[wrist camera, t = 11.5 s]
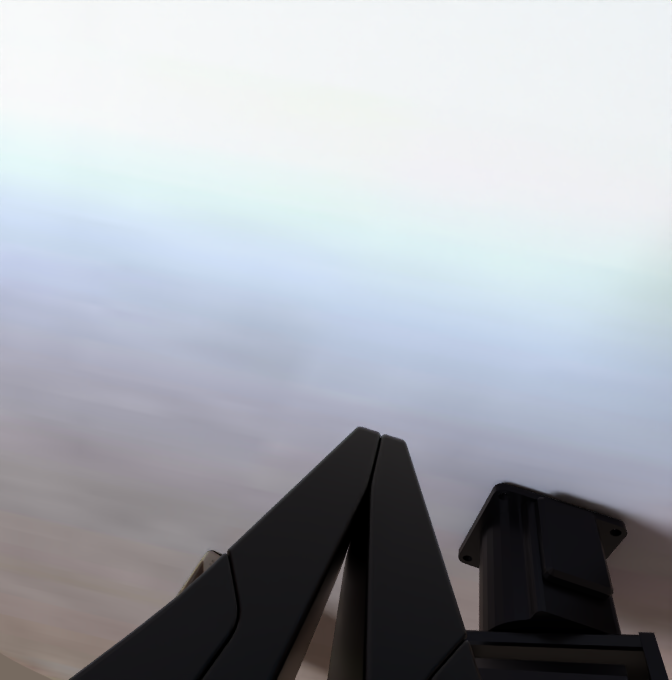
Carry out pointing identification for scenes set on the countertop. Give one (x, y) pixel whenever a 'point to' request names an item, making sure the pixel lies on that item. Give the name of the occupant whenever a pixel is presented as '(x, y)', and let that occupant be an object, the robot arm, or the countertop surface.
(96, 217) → the countertop surface
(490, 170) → the countertop surface
